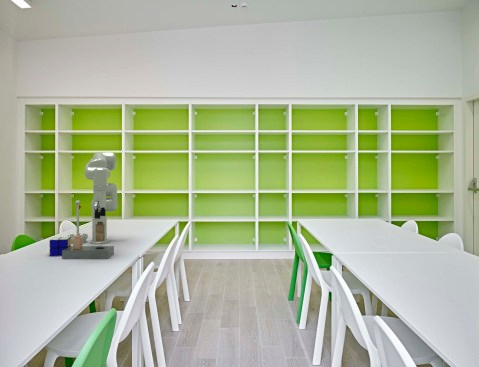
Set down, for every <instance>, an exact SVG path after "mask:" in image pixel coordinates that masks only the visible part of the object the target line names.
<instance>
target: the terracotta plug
mask: <svg viewBox="0 0 479 367" xmlns="http://www.w3.org/2000/svg"><path fill="white" fill-rule="evenodd" d="M72 246H73V249H81V248H82V246H83V243H82V237H81V236H75V238H73V244H72Z"/></svg>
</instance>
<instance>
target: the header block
mask: <svg viewBox="0 0 479 367" xmlns="http://www.w3.org/2000/svg"><path fill="white" fill-rule="evenodd" d="M114 255H115V245H82V248H81V249H73V245H71V246H70V247H68V248H66V249H64V250H62V256H61V259H62V260H109V259H110V258H111V257H112V256H114Z"/></svg>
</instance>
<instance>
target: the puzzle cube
mask: <svg viewBox="0 0 479 367" xmlns="http://www.w3.org/2000/svg"><path fill="white" fill-rule="evenodd" d="M70 246H72V244H71V236H68V235H67V236H54V237H52V238H51V239H49V257H62V250H64V249H66V248H68V247H70Z"/></svg>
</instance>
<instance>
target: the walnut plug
mask: <svg viewBox="0 0 479 367" xmlns="http://www.w3.org/2000/svg"><path fill="white" fill-rule="evenodd" d="M104 240H105V224H103V222H97V224H96V241H104Z"/></svg>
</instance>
